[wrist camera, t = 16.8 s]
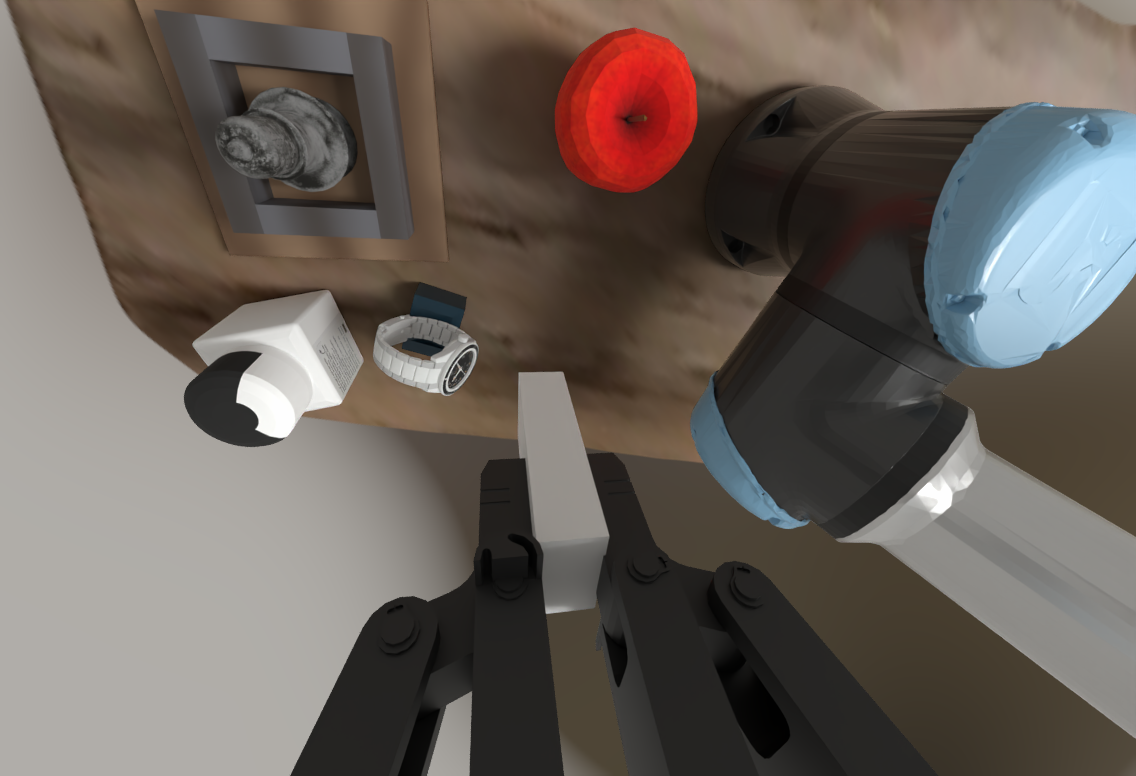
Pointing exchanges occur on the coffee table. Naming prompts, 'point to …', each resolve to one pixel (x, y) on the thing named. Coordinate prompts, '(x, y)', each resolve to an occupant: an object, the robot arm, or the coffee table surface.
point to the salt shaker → (289, 140)
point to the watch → (428, 343)
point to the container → (271, 368)
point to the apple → (626, 111)
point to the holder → (335, 75)
